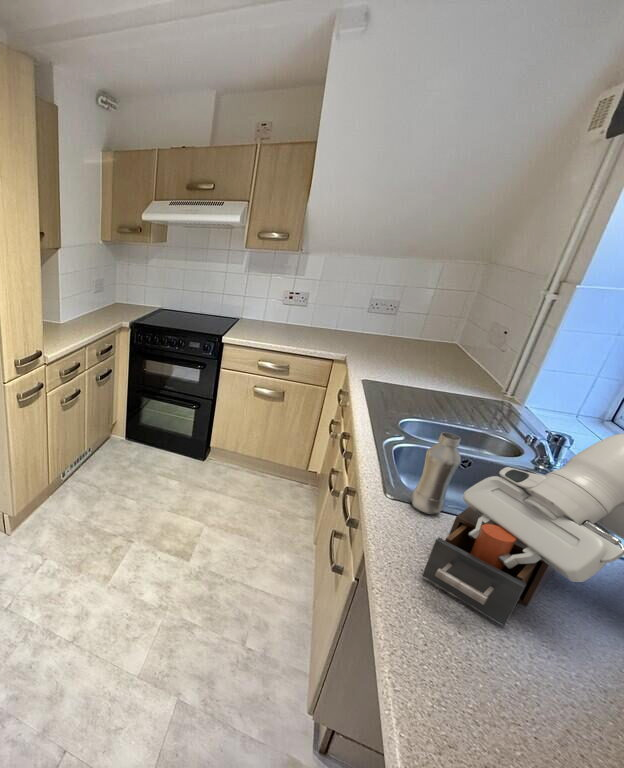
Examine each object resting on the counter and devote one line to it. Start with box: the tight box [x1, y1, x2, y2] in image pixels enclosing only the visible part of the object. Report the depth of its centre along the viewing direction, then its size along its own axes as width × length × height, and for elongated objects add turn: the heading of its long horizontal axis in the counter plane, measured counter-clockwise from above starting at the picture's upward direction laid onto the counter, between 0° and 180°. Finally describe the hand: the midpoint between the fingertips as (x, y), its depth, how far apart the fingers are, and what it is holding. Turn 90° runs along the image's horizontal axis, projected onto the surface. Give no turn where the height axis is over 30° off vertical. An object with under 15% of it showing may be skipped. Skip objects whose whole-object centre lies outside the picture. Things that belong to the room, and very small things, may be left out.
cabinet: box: [448, 506, 556, 608], centre depth 82 cm, size 17×14×11 cm
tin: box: [470, 524, 516, 571], centre depth 74 cm, size 5×5×9 cm
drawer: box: [421, 524, 542, 627], centre depth 75 cm, size 20×12×9 cm, turn 122°
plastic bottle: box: [410, 432, 462, 515], centre depth 96 cm, size 6×7×20 cm
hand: (487, 550), depth 74 cm, fingers closed on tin, 4 cm apart
